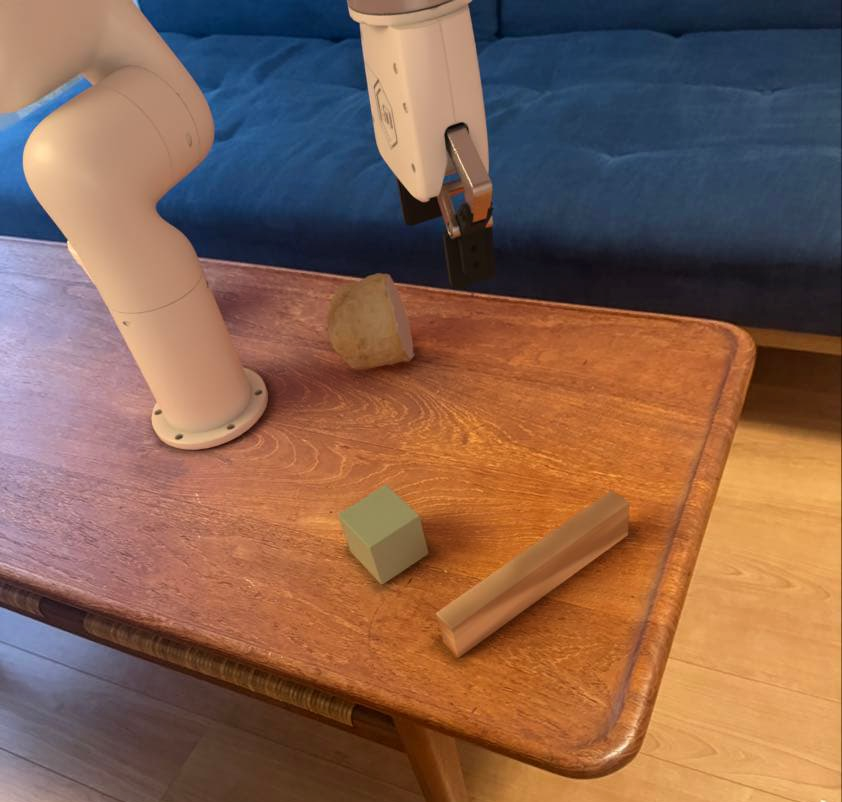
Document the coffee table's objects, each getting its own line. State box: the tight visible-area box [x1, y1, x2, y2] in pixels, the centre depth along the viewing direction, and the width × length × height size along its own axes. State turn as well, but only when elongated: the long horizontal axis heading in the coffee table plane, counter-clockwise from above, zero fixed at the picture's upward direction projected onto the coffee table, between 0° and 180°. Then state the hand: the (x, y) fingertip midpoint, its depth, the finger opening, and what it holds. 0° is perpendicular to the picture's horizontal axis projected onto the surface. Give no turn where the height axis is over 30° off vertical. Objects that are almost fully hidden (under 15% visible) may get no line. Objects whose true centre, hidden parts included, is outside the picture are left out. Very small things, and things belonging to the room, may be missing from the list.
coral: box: [326, 272, 415, 370], centre depth 86 cm, size 10×10×10 cm
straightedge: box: [435, 489, 631, 658], centre depth 65 cm, size 2×18×4 cm, turn 126°
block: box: [337, 484, 430, 586], centre depth 69 cm, size 5×5×5 cm
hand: (448, 249), depth 59 cm, fingers open, 9 cm apart
